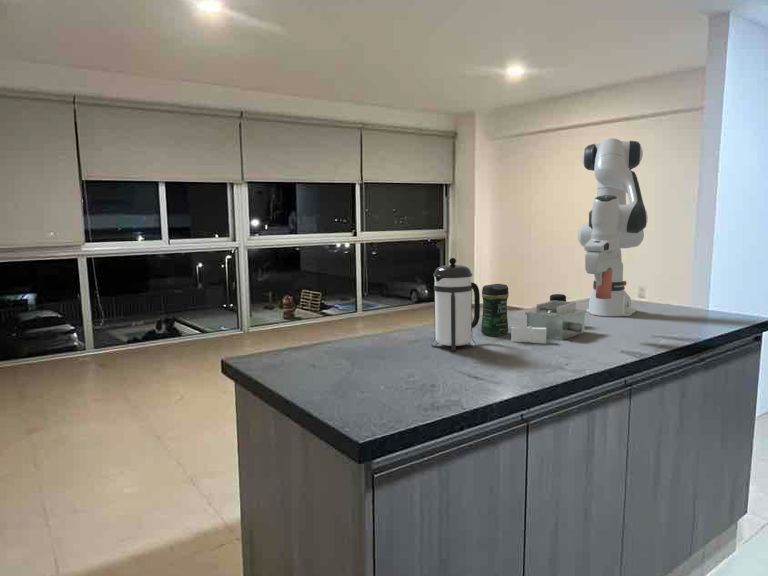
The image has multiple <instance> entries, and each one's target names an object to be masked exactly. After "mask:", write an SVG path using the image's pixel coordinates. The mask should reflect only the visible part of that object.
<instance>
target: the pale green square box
mask: <svg viewBox="0 0 768 576" xmlns="http://www.w3.org/2000/svg"><path fill="white" fill-rule="evenodd" d="M576 307H577V304H576V302H571V301H566V302H565V301H555V300H553V301H550V300H549V301H546V302H542V303H538V304H536V309H533V310H529V311H526V312H524V313H525V315H526V327H529V326H532V327H534V328H546V339H547V338H549V339H554V340H559V341H560V340H561V341H563V340H565V339H566V340H567V339H569V338H572V337H575V336H577V335H580V334H583V333H585V316H586V315H585V314H586V313H587V311H586V310H585V309H579V308H578V309H577V308H576Z"/></svg>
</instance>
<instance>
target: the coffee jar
mask: <svg viewBox="0 0 768 576" xmlns="http://www.w3.org/2000/svg"><path fill="white" fill-rule="evenodd" d="M481 298H482V316H481V317H482V318H481V328H480V331H481V334H483V335H484V336H487V337H488V336H489V337H490V336H493V337H497V336H503V335H507V334H508V333H509V321H508V299H509V287H508V285H507V284H503V283H494V284H493V283H492V284H486V285H483V287H482V289H481Z"/></svg>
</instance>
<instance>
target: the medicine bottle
mask: <svg viewBox="0 0 768 576" xmlns="http://www.w3.org/2000/svg"><path fill="white" fill-rule="evenodd" d="M553 300H555V301H565V302H567V296H566V294H561V293H554V294H551V295H549V301H553Z"/></svg>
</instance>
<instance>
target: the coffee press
mask: <svg viewBox="0 0 768 576" xmlns="http://www.w3.org/2000/svg"><path fill="white" fill-rule="evenodd" d="M448 262H449V264H447V265H441V266H439V267H436V269H435V271H434V272H433V277H434V278H433V279H434V284H433V296H434V297H433V298H434V299H433V304H434V305H433V306H434V307H433V308H434V312H433V314H434V335H435V337H434V338H433V340H432V341H431V344H430V345H431V347H436V346H437V345H438V344H440V345H442V346H448V347H450V348H451V350H450V351H451V352H456V351H457V350H456V346H457V347H458V346H459V347H460V346H465V345H467V344H469V345H470V346H471V347H472V348H474V347H476V345H477V344H476V342H475V340H474V339H473V338H472V333H473V329H474V328H475V327H476V326H477V325H478V324H479V321H480V315H481V312H480V311H481V308H480V307H481V299H480V298H481V297H480V295H481V294H480V288H479V286H478V285H477V283H475V282H472V277H473V273H472V271H471V269H470V267H468V266H466V265H461V264H456V262H457V259H456V258H455V257H451V258H449V260H448ZM473 294H474V295H473ZM473 296H474V297H473ZM473 300H474V301H473ZM473 302H474V303H473ZM473 308H474V309H473ZM473 311H474V312H473ZM473 313H474V316H473ZM435 341H436V342H437V343H435V344H434V345H433V343H434V342H435ZM471 341H473V343H474V345H472V344H471V343H470V342H471Z"/></svg>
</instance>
